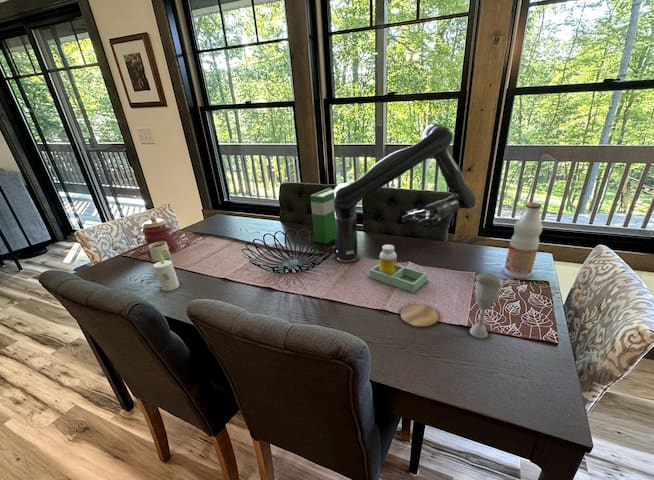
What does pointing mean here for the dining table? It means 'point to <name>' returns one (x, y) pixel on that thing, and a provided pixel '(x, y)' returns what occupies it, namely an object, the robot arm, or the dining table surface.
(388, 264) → the supplement bottle
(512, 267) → the fruit juice
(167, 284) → the candle
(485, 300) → the chalice
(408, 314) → the coaster
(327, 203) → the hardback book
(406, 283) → the holder
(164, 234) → the kitchen canister
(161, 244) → the character mug
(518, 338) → the dining table surface
